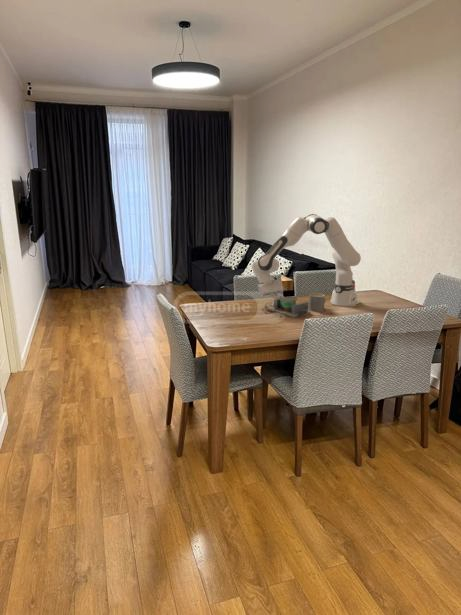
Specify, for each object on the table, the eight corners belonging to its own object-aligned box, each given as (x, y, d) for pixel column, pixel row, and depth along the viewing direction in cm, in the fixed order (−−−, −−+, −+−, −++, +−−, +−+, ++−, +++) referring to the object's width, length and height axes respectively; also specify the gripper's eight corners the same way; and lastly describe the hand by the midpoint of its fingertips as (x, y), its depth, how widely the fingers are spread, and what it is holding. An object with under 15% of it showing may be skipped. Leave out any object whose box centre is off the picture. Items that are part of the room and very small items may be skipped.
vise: (282, 305, 302) (283, 295, 300) (310, 312, 286) (310, 302, 284) (267, 309, 291) (267, 298, 289) (294, 317, 275) (295, 306, 274)
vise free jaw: (287, 304, 298) (287, 296, 296) (290, 305, 296) (291, 297, 294) (273, 308, 288) (274, 299, 287) (276, 308, 286) (277, 300, 285)
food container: (280, 313, 283) (281, 298, 280) (278, 310, 289) (278, 295, 286) (298, 313, 285) (299, 298, 282) (296, 310, 291) (297, 295, 288)
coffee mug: (315, 312, 287) (316, 297, 284) (305, 308, 295) (306, 294, 293) (330, 310, 294) (332, 295, 291) (320, 306, 302) (322, 292, 299)
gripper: (258, 281, 289) (269, 298, 285) (279, 277, 303) (289, 293, 299) (253, 286, 293) (263, 303, 289) (273, 282, 307) (283, 298, 303)
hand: (276, 298), depth 294 cm, fingers closed
